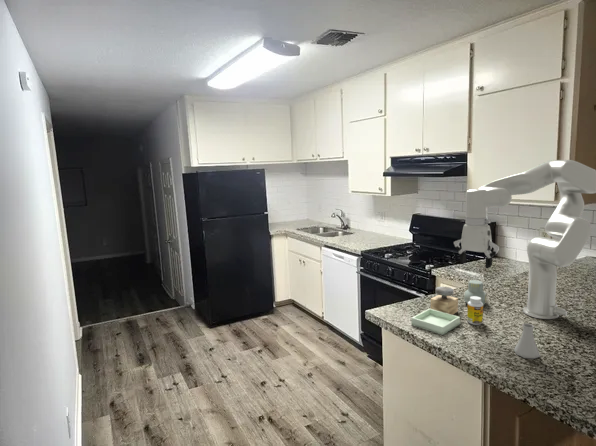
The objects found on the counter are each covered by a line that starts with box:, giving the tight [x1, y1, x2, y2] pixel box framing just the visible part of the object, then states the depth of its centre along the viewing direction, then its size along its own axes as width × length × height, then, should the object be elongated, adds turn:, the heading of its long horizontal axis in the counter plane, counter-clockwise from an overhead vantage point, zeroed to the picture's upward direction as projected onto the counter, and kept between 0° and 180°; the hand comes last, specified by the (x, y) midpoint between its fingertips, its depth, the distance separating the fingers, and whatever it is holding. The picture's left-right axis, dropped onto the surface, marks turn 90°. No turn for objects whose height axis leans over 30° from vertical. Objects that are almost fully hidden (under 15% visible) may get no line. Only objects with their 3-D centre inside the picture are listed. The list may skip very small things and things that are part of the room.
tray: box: [411, 308, 461, 336], centre depth 152 cm, size 13×13×3 cm
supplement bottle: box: [466, 296, 484, 326], centre depth 152 cm, size 6×6×10 cm
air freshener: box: [463, 279, 487, 306], centre depth 172 cm, size 11×8×10 cm
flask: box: [513, 323, 541, 360], centre depth 126 cm, size 7×7×10 cm
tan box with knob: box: [430, 286, 459, 315], centre depth 164 cm, size 8×8×10 cm
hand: (475, 265), depth 150 cm, fingers open, 9 cm apart
